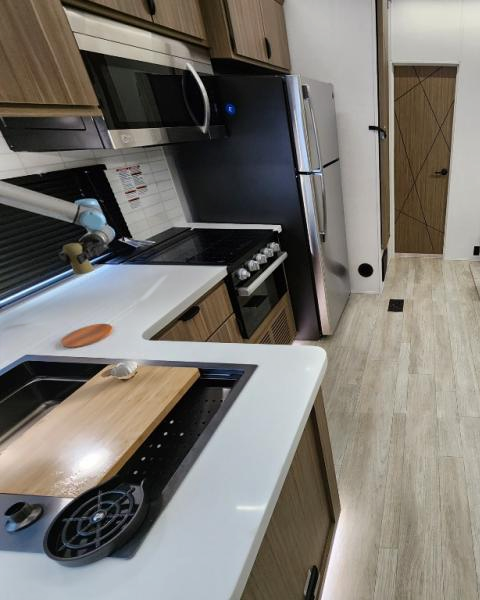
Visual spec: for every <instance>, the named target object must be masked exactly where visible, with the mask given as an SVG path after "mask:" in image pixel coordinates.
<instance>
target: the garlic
mask: <svg viewBox="0 0 480 600" xmlns="http://www.w3.org/2000/svg"><path fill="white" fill-rule="evenodd" d="M137 365H138V366H139V363H137V362H136V361H134V360H133V361H132V360H125V361H121V362H118V363H117V364H116V365H115V366H114V368H113V369H111V371H110V376H111V377H112V376H116V377H123V376H127V375H129V374H131V373H132V372H133V371H134V370H135V369H136V368H137Z"/></svg>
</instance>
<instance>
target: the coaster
mask: <svg viewBox="0 0 480 600" xmlns="http://www.w3.org/2000/svg"><path fill="white" fill-rule="evenodd" d="M113 328H114V327H113V326H112V325H111V324H109V323H96V324H91V325H86V326H84V327H80V328H78V329H75V330H73V331H72V332H70V333H68V334H67V335H65V336H64V337H63V338H62V339H61V341H60V343H61V345H62V346H63V347H64V348H68V349H74V348H75V349H76V348H81V347H85V345H86V346H88V345H92V344H94V342H95V343H97V342H99V341H102V340H103V339H105V338H107V337H108V336H110V334H111V333H112V332H113ZM91 343H92V344H91Z"/></svg>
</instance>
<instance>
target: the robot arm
mask: <svg viewBox="0 0 480 600" xmlns="http://www.w3.org/2000/svg"><path fill="white" fill-rule="evenodd" d="M0 204H3V205H5V206H10V207H13V208H16V209H21V210H25V211H28V212H32V213H34V214H39V215H42V216H46V217H48V218H49V217H50V218H54V219H58V220H61V221H65V222H68V223H71V224H75V225H78V226H81V227H83V228H85V229H86V231H87V233H86V234H84V235H83V236H82V237H81V238H79V239H78V242H77V243H78V244H80V245H81V246H82V253H81V254H79V255H78V256H77V257H76V258H77V260H78V262H79V264H83V263H84V262H85V261H86V260H87V259H88V260H89V259H90V258H93V257H99V256H100V255H101V254H102V253H104V251H106V250H108V249H109V245H108V244H110V243H111V242H113V240H114V238H115V237H116V232H115V229H114V228H113V227H112V226H110V225H109V223H108V222H107V219H106V217H105V214H104V213H103V210H102V208H101V205H100V204H99V202H98V200H97V199H95V198H82V199H78V200H77V199H76V200H75V201H74V203H73V202H71V201H67V200H64V199H61V198H57V197H55V196H51V195H47V194H44V193H42V192H38V191H36V190H35V191H34V190H31V189H29V188H25V187H23V186H19V185H16V184H12V183H8V182H6V181H2V180H0ZM58 255H59V257H60V258H59V261H60V263H61V265H62V267H67V266H68V265H69V264H71V263H70V259H69V257H68V254H67V253H65V252H64V250H63V249H62V251H61V252H59V253H58Z"/></svg>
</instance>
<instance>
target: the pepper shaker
mask: <svg viewBox="0 0 480 600" xmlns="http://www.w3.org/2000/svg"><path fill="white" fill-rule="evenodd" d="M78 243H79V242H70V243H67V244H64V245H63V246H62V251H63V250H64V252H65V253H67V254H68V257H69V259H70V263H69V264H70V265H71V268H72V271H73V275H84V274H88V273H91V272H94V271H95V268H94V266H93V265H92V263H91V261H90V260H89V259H87V260H86V261H85V262H84V263H83V264H79V262H78V260H77V258H76V257H77V256H78V255H79V254H81V253H82V246H81V245H80V244H78Z"/></svg>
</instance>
